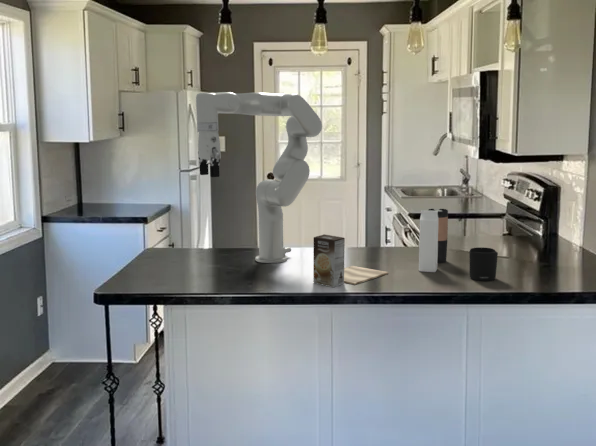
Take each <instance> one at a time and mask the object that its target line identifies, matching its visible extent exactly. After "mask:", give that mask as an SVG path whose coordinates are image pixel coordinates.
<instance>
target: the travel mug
mask: <svg viewBox="0 0 596 446" xmlns="http://www.w3.org/2000/svg"><path fill="white" fill-rule="evenodd" d="M428 210H431V211H438V257H437V264H443V263H446V262H447V256H448V231H449V228H448V227H449V225H448V224H449V220H448V218H449V210H448V209H447V208H439V209H435V208H429V209H428Z"/></svg>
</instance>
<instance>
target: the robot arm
mask: <svg viewBox="0 0 596 446" xmlns="http://www.w3.org/2000/svg"><path fill="white" fill-rule="evenodd" d="M195 106H196V107H195V108H196V109H195V110H196V129H197V131H196V132H197V133H198V138H197V139H198V140H197V141H198V143H197V147H198V151H197V155H198V160H199V161H198V164H199V175H200V176H207V175H209V173H210V178H220V165H221V163H220V161H221V158H222V156H221V155H222V154H221V152H222V151H221V141H220V134H219V114H228V115H229V114H233V115H248V116H260V117H261V116H263V117H269V116H270V117H289V118H288V119H287V121H286V123H285V124H286V125H285V128H286V132H287V141H288V142H287V144H286V147H285V149H284V151H283V152H282V153H281V155H280V157H278V159H277V162H276V163H275V164H274V166H273V169H272V175H273V177H274V179H264V180H262V181H260V182H258V184H257V186H256V188H255V198H256V199H255V200H256V203H257V204H256V205H257V209H258V210H257V211H258V250H259V251H258V254H259V255H256V256H255V261H256V262H258V263H263V264H279V263H285V262H286V261H288V256H287V255H286V254H287V253H291V252H292V248H291V247H290V246H289V247H285V246H284V213H283V209H282V207H283V208H284V207H289V206H291V205H292V204H293V203H294V201H296V199H297V198H298V196H299V194H300V193H301V191H302V189H303V188H304V186H305V185H306V184H307V181H308V180H309V177H310V172H311V171H310V166H309V163H307V161H305V158H306V156H307V155H308V151H309V148H308V140H307V138H314V137H317V136H319V135H320V134H321V132H322V130H323V123H322V120H321V118H320V116H319V115H318V114H317V112H316V111H315V109H313V108H312V107H311V105H310V104H309V103H308V101H307V100H305V98H304V97H302V96H301V95H300V94H298V93H273V92H272V93H271V92H244V93H234V92H231V91H227V92H226V91H222V92H220V91H219V92H218V91H217V92H199V93H197V94H196V96H195ZM208 161H209V162H210V166H209V163H208ZM209 170H210V171H209Z"/></svg>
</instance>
